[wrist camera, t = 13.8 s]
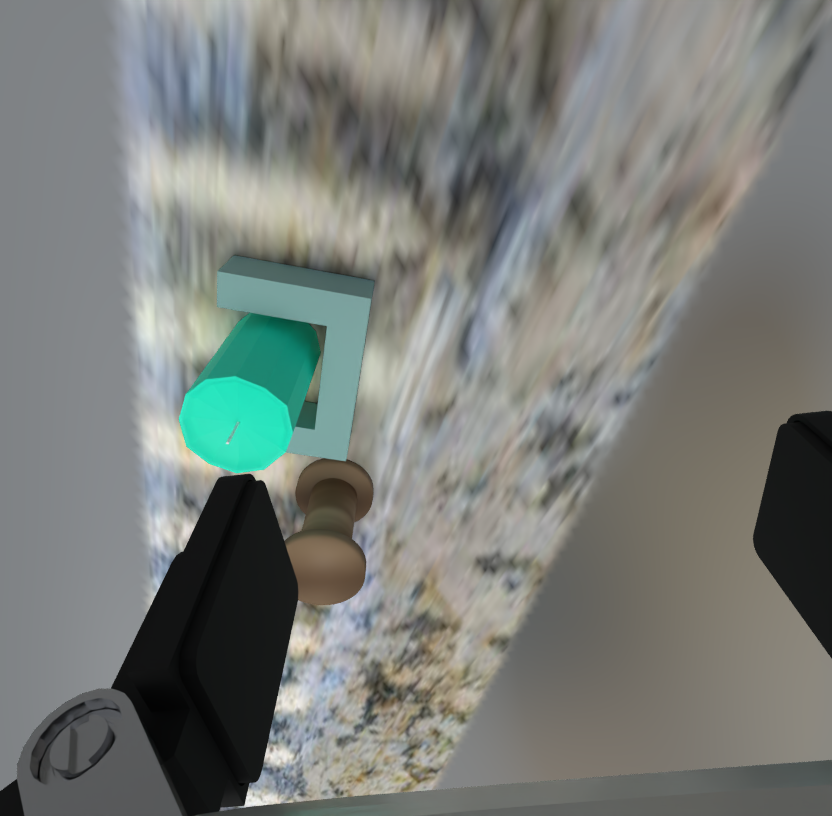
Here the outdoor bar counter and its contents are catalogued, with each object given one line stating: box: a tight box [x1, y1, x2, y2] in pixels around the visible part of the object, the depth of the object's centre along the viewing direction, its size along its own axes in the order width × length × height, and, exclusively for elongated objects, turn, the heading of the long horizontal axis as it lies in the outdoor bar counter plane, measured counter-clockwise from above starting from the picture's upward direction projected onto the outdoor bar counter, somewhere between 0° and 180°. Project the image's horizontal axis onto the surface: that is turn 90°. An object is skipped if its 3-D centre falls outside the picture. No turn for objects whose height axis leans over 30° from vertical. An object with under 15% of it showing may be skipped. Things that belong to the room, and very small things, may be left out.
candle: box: [179, 313, 321, 473], centre depth 34 cm, size 6×6×12 cm
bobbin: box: [284, 458, 373, 605], centre depth 41 cm, size 6×6×9 cm
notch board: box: [217, 255, 375, 461], centre depth 38 cm, size 12×9×4 cm
